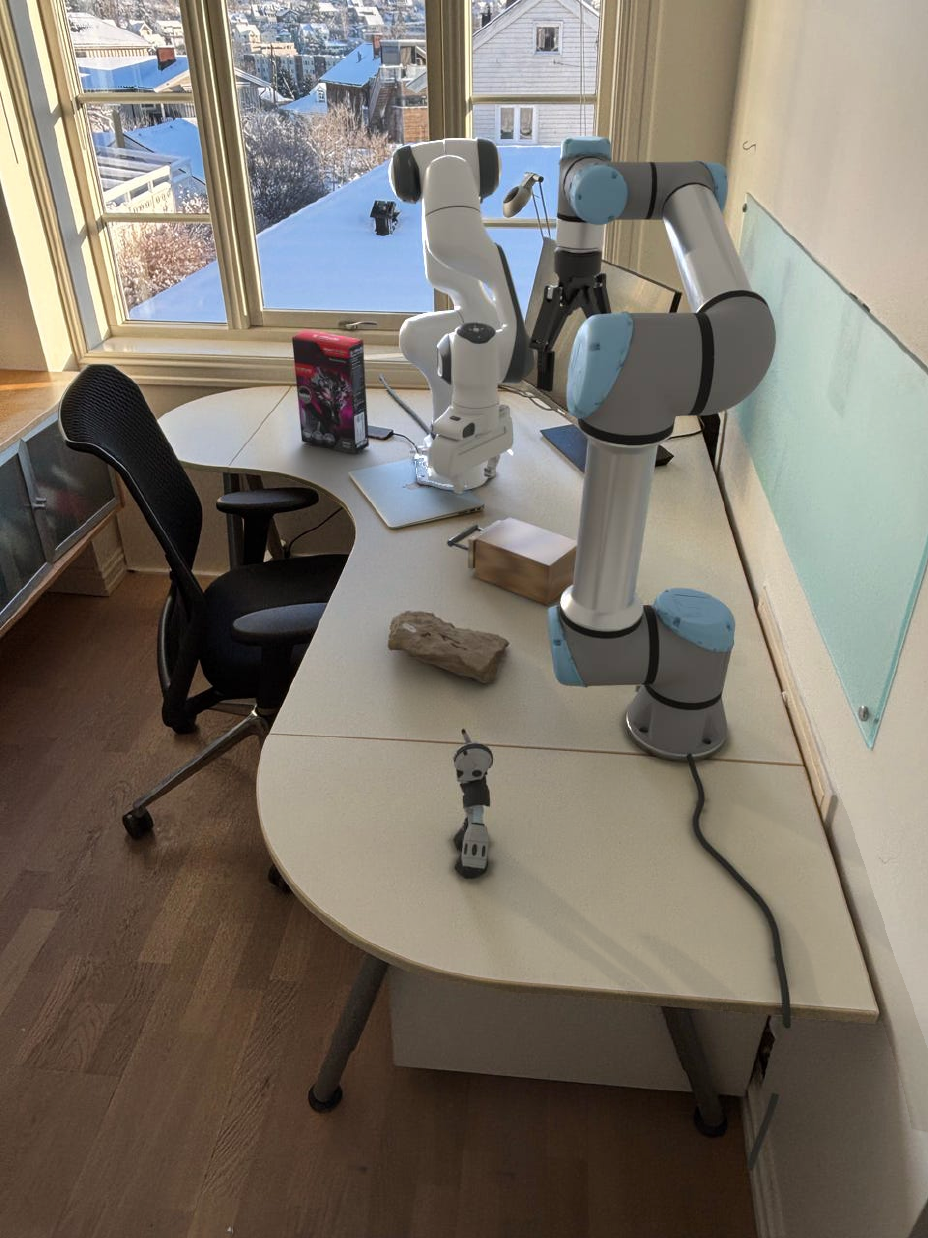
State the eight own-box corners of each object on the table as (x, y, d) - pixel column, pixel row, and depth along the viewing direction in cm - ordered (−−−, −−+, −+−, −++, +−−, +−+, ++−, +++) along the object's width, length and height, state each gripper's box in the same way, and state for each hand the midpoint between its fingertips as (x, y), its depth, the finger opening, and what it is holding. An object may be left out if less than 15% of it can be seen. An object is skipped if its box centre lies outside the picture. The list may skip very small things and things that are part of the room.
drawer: (445, 558, 185) (444, 529, 181) (474, 539, 191) (475, 511, 188) (533, 593, 174) (534, 563, 170) (561, 571, 181) (563, 542, 177)
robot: (495, 914, 114) (500, 797, 103) (456, 915, 114) (456, 798, 103) (484, 799, 130) (487, 688, 119) (450, 801, 130) (450, 689, 119)
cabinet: (474, 576, 181) (475, 538, 176) (507, 554, 188) (509, 516, 184) (546, 605, 173) (549, 565, 168) (578, 580, 180) (581, 542, 175)
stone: (364, 657, 153) (371, 625, 150) (394, 627, 166) (401, 597, 164) (483, 699, 149) (492, 667, 147) (504, 665, 163) (513, 635, 160)
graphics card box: (299, 442, 234) (289, 335, 219) (315, 433, 239) (306, 328, 224) (356, 456, 228) (349, 346, 213) (371, 446, 233) (365, 338, 218)
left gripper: (496, 396, 179) (495, 463, 187) (426, 426, 166) (428, 496, 174) (522, 404, 176) (519, 471, 184) (453, 435, 163) (453, 505, 170)
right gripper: (604, 231, 154) (593, 357, 166) (509, 256, 139) (505, 392, 151) (642, 238, 150) (628, 366, 162) (549, 264, 135) (541, 404, 147)
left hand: (474, 483), depth 178 cm, fingers open, 8 cm apart
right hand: (569, 379), depth 156 cm, fingers open, 13 cm apart
